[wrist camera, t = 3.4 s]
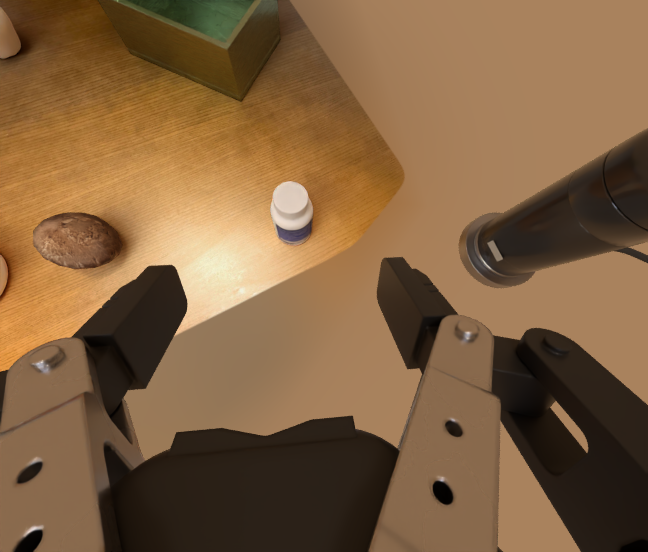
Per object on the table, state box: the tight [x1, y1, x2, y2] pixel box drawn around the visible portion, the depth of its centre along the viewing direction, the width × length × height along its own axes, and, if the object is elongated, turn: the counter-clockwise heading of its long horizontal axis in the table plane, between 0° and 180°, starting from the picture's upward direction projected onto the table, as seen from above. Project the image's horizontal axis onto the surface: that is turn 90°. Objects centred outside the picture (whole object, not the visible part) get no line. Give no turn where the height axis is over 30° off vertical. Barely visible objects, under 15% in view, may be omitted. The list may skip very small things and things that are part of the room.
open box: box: [98, 0, 280, 101], centre depth 39 cm, size 20×15×8 cm
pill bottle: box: [270, 182, 313, 245], centre depth 32 cm, size 5×5×9 cm
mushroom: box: [33, 213, 122, 269], centre depth 32 cm, size 8×8×6 cm
